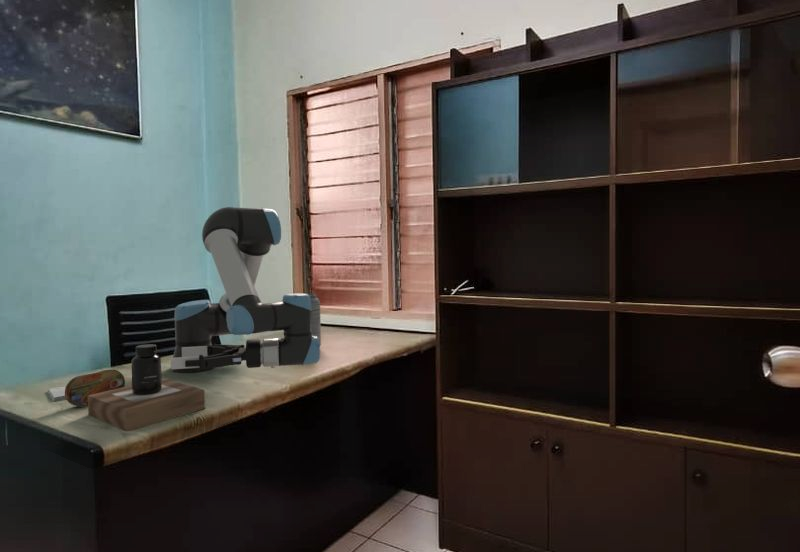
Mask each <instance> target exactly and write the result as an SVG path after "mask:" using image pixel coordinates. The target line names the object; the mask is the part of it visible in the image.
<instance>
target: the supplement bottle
mask: <svg viewBox="0 0 800 552" xmlns="http://www.w3.org/2000/svg"><path fill="white" fill-rule="evenodd" d="M157 352H158V350H157V344H152V343H151V344H150V343H149V344H140V345H137V346H135V356H134V357H133V358H132V359H131V386H132V392H133V393H134V394H136V395H148V394H154V393H157V392H159V391H160V390H161V388H162V380H161V379H162V358H161V356H160V355H158V354H157Z"/></svg>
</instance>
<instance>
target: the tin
mask: <svg viewBox="0 0 800 552" xmlns="http://www.w3.org/2000/svg"><path fill="white" fill-rule="evenodd" d="M125 385H126V380H125V376H124V375H123V373H121V371H119V370H116V369H103V370H99V371H94V372H91V373H86V374H82V375H78V376H75V377H73V378H71V380H69V382H68V383H67V384H66V385H65V386H66V388H65V397H66V399H65V400H66V401H67V403H69V404H70V405H72V406H74V407H75V406H76V407H79V408H86V407H88V395H92V394H96V393H101V392H105V391H110V390H114V389H119V388H123V387H126V386H125Z"/></svg>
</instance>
